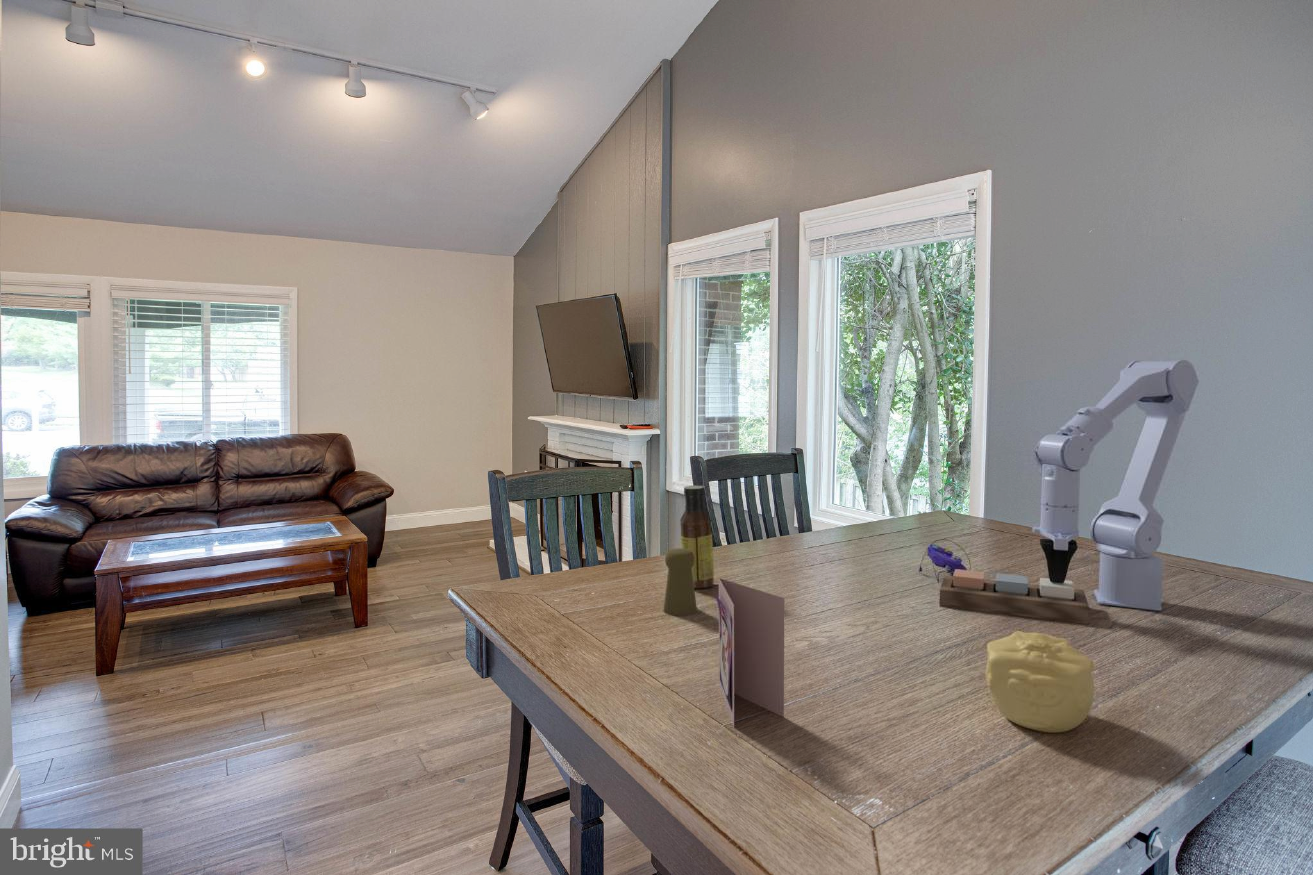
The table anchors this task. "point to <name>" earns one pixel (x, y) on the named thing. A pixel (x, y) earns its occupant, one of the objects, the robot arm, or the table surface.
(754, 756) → the table surface
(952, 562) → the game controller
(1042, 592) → the ivory key
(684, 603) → the cork
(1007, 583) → the slate key
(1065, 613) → the brown long flat frame
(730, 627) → the greeting card
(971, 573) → the terracotta key
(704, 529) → the sauce bottle
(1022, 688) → the sculpture
